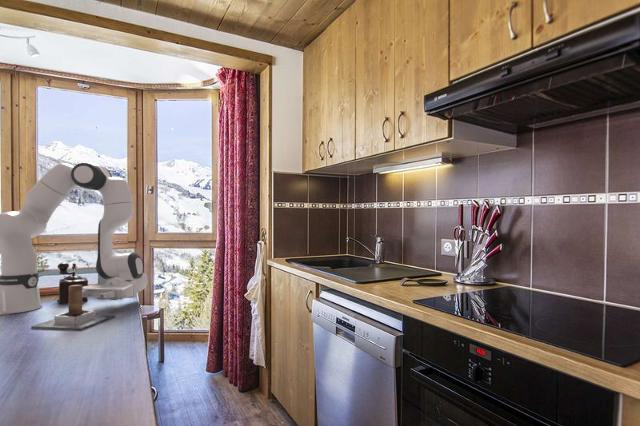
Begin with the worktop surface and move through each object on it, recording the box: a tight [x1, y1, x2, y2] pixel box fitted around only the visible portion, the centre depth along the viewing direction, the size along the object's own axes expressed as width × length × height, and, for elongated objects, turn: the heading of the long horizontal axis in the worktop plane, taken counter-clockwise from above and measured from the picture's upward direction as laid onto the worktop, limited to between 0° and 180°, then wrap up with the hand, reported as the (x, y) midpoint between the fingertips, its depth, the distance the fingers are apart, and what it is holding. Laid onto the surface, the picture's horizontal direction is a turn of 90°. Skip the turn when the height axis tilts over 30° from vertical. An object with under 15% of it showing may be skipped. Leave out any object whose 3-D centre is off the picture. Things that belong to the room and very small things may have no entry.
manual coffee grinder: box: [56, 261, 89, 305], centre depth 157 cm, size 16×11×18 cm
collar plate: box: [30, 309, 116, 332], centre depth 126 cm, size 18×16×3 cm
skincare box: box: [97, 273, 112, 285], centre depth 171 cm, size 6×4×12 cm
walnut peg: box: [67, 285, 83, 316], centre depth 126 cm, size 4×4×12 cm
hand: (90, 295), depth 133 cm, fingers open, 8 cm apart
